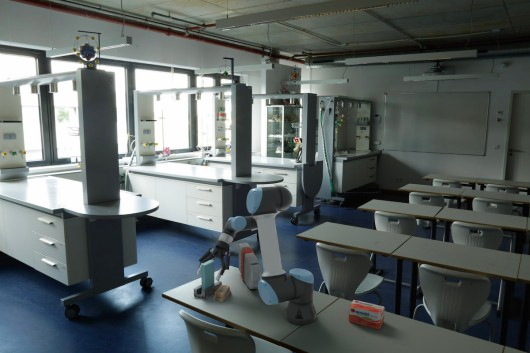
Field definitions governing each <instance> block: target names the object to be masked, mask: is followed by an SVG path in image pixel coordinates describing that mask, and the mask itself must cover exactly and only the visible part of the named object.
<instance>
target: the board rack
mask: <svg viewBox="0 0 530 353" xmlns="http://www.w3.org/2000/svg"><path fill="white" fill-rule="evenodd" d="M214 283H215V284H213V285H211V286H210V287H208V288H206V289H205V290H203V291H202V285H201V284H200V285H198V286H196V287H194V288H193V296H194V297H197V298H200V299H204V300H206V299H207V298H209V297H211V296H213V295H215V292H216V291H217V290H218V289H219V287H220V286H221V285H223V281H221V280H219V281H216V282H214Z"/></svg>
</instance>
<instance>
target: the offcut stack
mask: <svg viewBox="0 0 530 353" xmlns="http://www.w3.org/2000/svg"><path fill="white" fill-rule="evenodd" d="M231 294H232V289H231V288H230V285H225V284H222V285H221V286H220V287H219V289H218V290H217V291H216V292H215V293H214V296H213V301H214V302H220V303H223V302H224V301H226V299H227V298H228V297H229V296H230V295H231Z"/></svg>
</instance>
